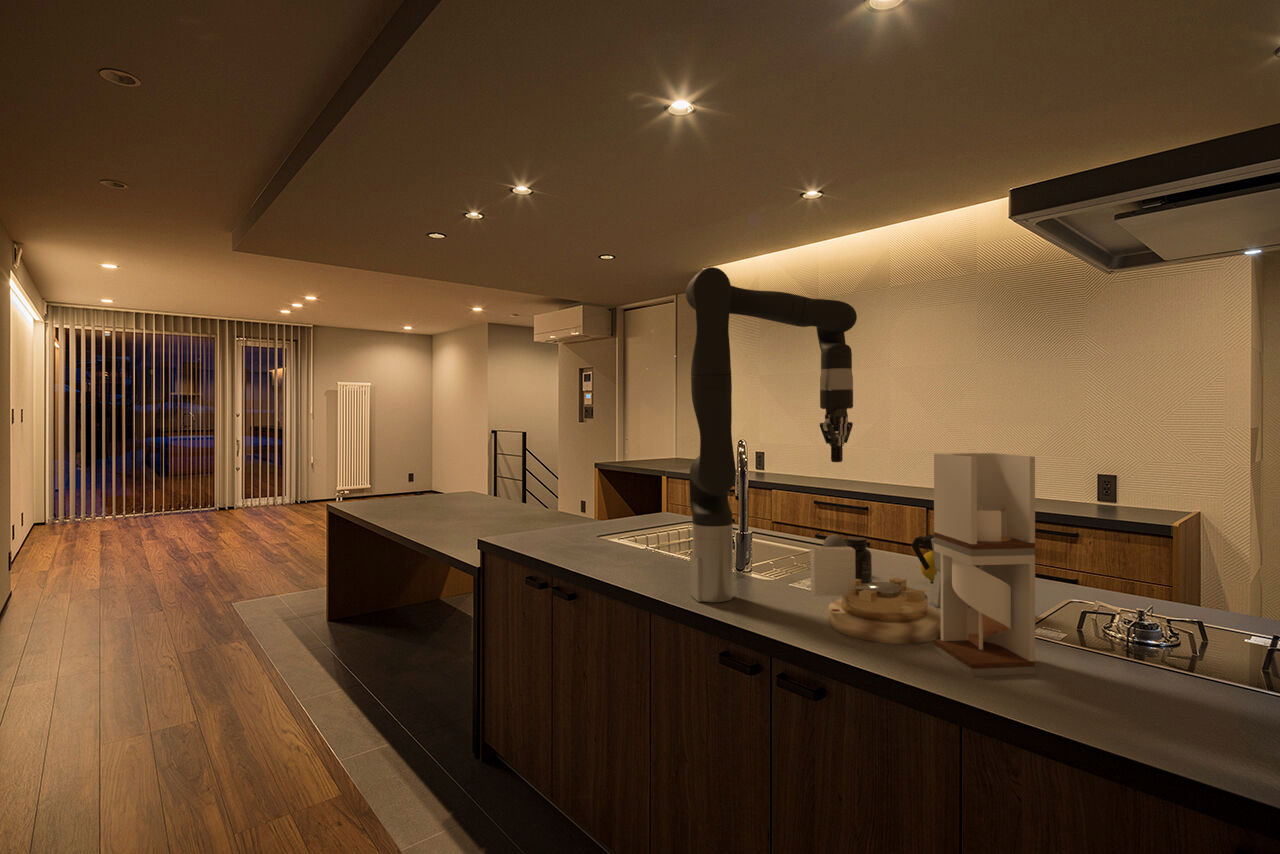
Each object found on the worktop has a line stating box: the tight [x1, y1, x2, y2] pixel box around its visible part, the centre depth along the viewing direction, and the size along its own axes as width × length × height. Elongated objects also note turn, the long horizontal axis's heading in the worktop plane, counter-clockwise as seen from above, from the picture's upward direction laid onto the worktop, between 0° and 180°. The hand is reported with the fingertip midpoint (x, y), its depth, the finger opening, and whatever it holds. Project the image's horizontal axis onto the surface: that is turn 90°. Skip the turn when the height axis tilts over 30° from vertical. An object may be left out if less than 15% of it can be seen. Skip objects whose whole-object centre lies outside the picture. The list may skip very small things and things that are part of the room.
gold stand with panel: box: [810, 546, 929, 622], centre depth 130 cm, size 22×16×12 cm
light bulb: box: [822, 534, 847, 547], centre depth 176 cm, size 6×6×10 cm
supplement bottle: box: [845, 536, 873, 584], centre depth 160 cm, size 7×7×12 cm
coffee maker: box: [911, 534, 941, 609], centre depth 144 cm, size 15×9×18 cm, turn 47°
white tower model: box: [933, 452, 1036, 677], centre depth 110 cm, size 11×11×35 cm
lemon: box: [920, 550, 937, 583], centre depth 164 cm, size 6×6×8 cm
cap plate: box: [828, 598, 941, 645], centre depth 130 cm, size 21×21×3 cm
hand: (836, 461), depth 155 cm, fingers closed
